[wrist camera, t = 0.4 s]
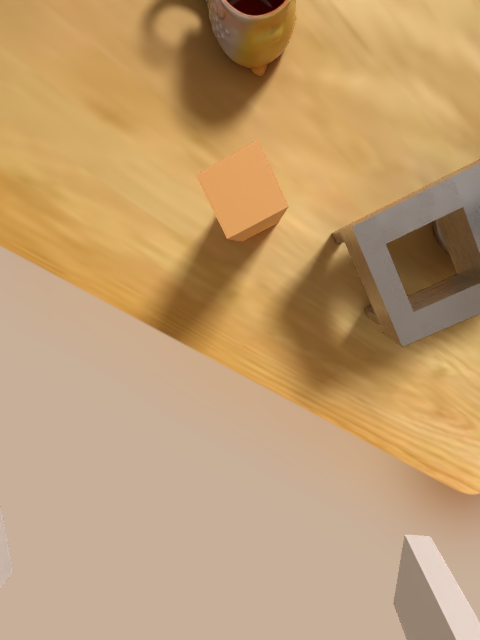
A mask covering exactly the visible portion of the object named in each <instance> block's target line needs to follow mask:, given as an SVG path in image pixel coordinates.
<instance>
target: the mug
mask: <svg viewBox="0 0 480 640" xmlns="http://www.w3.org/2000/svg"><path fill="white" fill-rule="evenodd" d="M204 1H205V2H206V3H207V6H208V9H209V19H210V21H211V27H212V29H213V33H214V35H215V36H216V39H217V41H218V43H219V44H220V46H221V48H222V50H223V51H224V52H225V54H226V55H227V56H228V57H229V58H230V59H231V60H232V61H234V62H235V63H237V64H239V65H241V66H244V67H246V68H250V69H251V70H252V71H253V73H254V74H255V75H257V76H262V75H263V74H264V73H265V72H266V68H267V65H268V64H269V63H270V62H272V61H274V60H275V59H276V58H277V57H278V56H279V55H280V54H281V53H282V52H283V51H284V50H285V48H286V47H287V45H288V43H289V41H290V38H291V36H292V32H293V29H294V24H295V20H296V0H204Z"/></svg>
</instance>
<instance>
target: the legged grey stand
mask: <svg viewBox="0 0 480 640" xmlns="http://www.w3.org/2000/svg"><path fill="white" fill-rule="evenodd" d="M430 222H433V231H434V234H435V237H436V239H437V241H438V243H439V244H440V246H441V247H442V248H443V249H444V250H445V251H446V252H448V253H449V254H450V257H451V259H452V262H453V265H454V268H455V270H456V273H457V275H454V276H452V277H450V278H448V279H445V280H443V281H441V282H439V283H437V284H434V285H432V286H430V287H428V288H425V289H423V290H421V291H419V292H417V293H414V294H412V295H410V296H408V297H407V295H406V292H405V290H404V287H403V285H402V282H401V280H400V278H399V275H398V273H397V270H396V268H395V265H394V263H393V260H392V258H391V255H390V253H389V251H388V248H387V246H386V244H387V243H389V242H391V241H393V240H395V239H397V238H399V237H401V236H403V235H406V234H408V233H410V232H412V231H414V230H416V229H418V228H420V227H422V226H424V225H426V224H428V223H430ZM332 235H333V237H334V240H335V242H336V243H340V242H345V244H346V247H347V249H348V251H349V254H350V256H351V258H352V261H353V263H354V265H355V268H356V270H357V272H358V275H359V277H360V279H361V282H362V284H363V286H364V288H365V291H366V293H367V295H368V298H369V300H370V302H371V306H368V307H366V308H364V309H365V311H366V313H367V315H368V317H369V318H371V319H372V320H373V321H375V322H376V323H378V324H379V325H380V326H381V328H382V330H383V333H384V334H386V335H387V336H388V337H390V338H391V339H393V340H394V341H395V342H397V343H398V344H399V345H401V346H402V347H403V346H405V345H408V344H410V343H412V342H415V341H417V340H419V339H422V338H424V337H426V336H429V335H431V334H433V333H436V332H438V331H440V330H443V329H445V328H448V327H450V326H452V325H455V324H457V323H459V322H462V321H464V320H466V319H469V318H471V317H473V316H476V315H478V314H480V159H479V160H477V161H475V162H473V163H471V164H469V165H467V166H465V167H463V168H461V169H459V170H457V171H455V172H453V173H451V174H449V175H447V176H445V177H443V178H441V179H439V180H437V181H435V182H433V183H431V184H429V185H427V186H425V187H423V188H421V189H419V190H417V191H415V192H413V193H411V194H409V195H407V196H405V197H403V198H401V199H399V200H397V201H395V202H393V203H391V204H389V205H387V206H385V207H383V208H381V209H379V210H377V211H375V212H373V213H371V214H369V215H367V216H365V217H363V218H361V219H359V220H357V221H355V222H353V223H351V224H349V225H347V226H345V227H343V228H341V229H339V230H338V231H336V232H334V233H332Z"/></svg>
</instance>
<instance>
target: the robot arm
mask: <svg viewBox="0 0 480 640" xmlns="http://www.w3.org/2000/svg"><path fill="white" fill-rule="evenodd" d="M12 572H13V571H12V566H11V560H10V554H9V549H8V543H7V537H6V532H5V526H4V521H3V515H2V509H1V506H0V588H1V587H2V586H3V584H4V583H5V582H6V580H7V579H8V578H9V576H10V575H11V573H12ZM394 606H395V609H396V612H397V614H398V617H399V620H400V622H401V625H402V628H403V631H404V633H405V636H406V639H407V640H480V622H479V621H478V619H477V617H476V615H475V614H474V612H473V610H472V608H471V606H470V605H469V603H468V601H467V600H466V598H465V596H464V594H463V593H462V591H461V589H460V587H459V586H458V584H457V582H456V581H455V579H454V577H453V575H452V573H451V572H450V570H449V568H448V566H447V565H446V563H445V561H444V559H443V558H442V556H441V554H440V553H439V551H438V549H437V547H436V546H435V544H434V542H433V540H432V539H431V537H430V536H416V535H405V536H404V542H403V548H402V555H401V560H400V567H399V573H398V579H397V585H396V591H395V597H394Z"/></svg>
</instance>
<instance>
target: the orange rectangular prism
mask: <svg viewBox="0 0 480 640" xmlns="http://www.w3.org/2000/svg"><path fill="white" fill-rule="evenodd" d="M196 177H197V179H198V181H199V183H200V185H201V187H202V189H203V191H204V193H205V195H206V197H207V199H208V201H209V203H210V205H211V207H212V209H213V211H214V213H215V215H216V217H217V219H218V221H219V223H220V225H221V227H222V229H223V231H224V234H225V236H226V238H227V239H230V240H235V241H241V242H242V241H244V240H246V239H248V238H250V237H252V236H254V235H256V234H258V233H260V232H262V231H264V230H266V229H267V228H269V227H271V226H273V225H275V224H277V223H278V222H279V221H280V219H281V218H282V216H283V214H284V213H285V211H286V210H287V208H288V204H287V202H286V200H285V198H284V196H283V193H282V191H281V189H280V187H279V185H278V182H277V180H276V178H275V176H274V174H273V171H272V169H271V167H270V165H269V163H268V160H267V158H266V156H265V154H264V151H263V149H262V147H261V145H260V143H259V140H256V141H254V142H253V143H251V144H249V145H247V146H246V147H244V148H242V149H240V150H239V151H237V152H235V153H233V154H232V155H230V156H228V157H226V158H225V159H223V160H221V161H219V162H218V163H216V164H214V165H212V166H211V167H209V168H207V169H205V170H204V171H202V172H200V173H198V174H197V175H196Z"/></svg>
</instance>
